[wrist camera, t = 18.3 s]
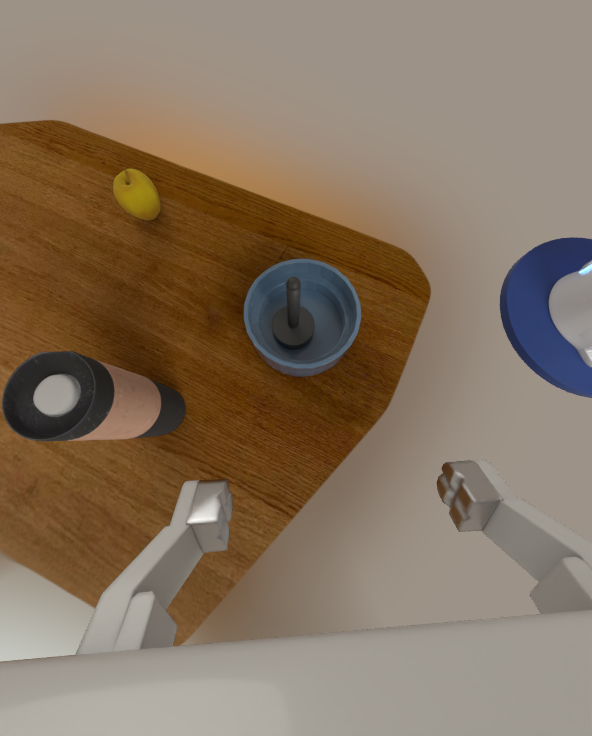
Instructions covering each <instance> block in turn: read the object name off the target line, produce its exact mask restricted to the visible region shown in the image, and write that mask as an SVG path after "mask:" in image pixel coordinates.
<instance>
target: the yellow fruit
mask: <svg viewBox="0 0 592 736" xmlns="http://www.w3.org/2000/svg"><path fill="white" fill-rule="evenodd" d="M113 191H114V196H115V198H116V200H117V202H118V203H119V204H120V206H121V207H122V208H123V209H124V210H125V211H126V212H128V213H129V214H131V215H132V216H134V217H137V218H139V219H142V220H146V221H150V220H153V219H155V218H156V217H157V216H158V214H159V212H160V210H161V204H160V197H159V194H158V191H157V189H156V188H155V186H154V184H153V183H152V181H151V180H150V179H149V178H148V177H147V176H146V175H145V174H144V173H142V172H140V171H138V170H135V169H126V167H125V166H124V171H123V172H121V173H120V174H118V175H117V176H116V177H115V179H114V182H113Z"/></svg>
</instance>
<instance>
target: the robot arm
mask: <svg viewBox="0 0 592 736" xmlns="http://www.w3.org/2000/svg"><path fill="white" fill-rule="evenodd" d="M549 311H550V315H551V318H552V321H553V323H554V325H555V327H556V328H557V330H558V331H559V332H560V334H561V335H562V336H563V337H564V338H565V339H566V340H567V341H568V342H569V343H571V344H572V345H573V346H574V347H575V348H576V349H577V351H578V352H579V354H580V356H581V358H582V359H583V361H584V362H585V363H586V364H587V365H588V366H589V367H592V261H589V262H587V263H586V264H585V265H584V266H583V267H582V268H581V269H580V270H579V271H576V272H573V273H571V274H568V275H566V276H564V277H562V278H561V279H560V280H558V281H557V282H556V284H555V285H554V286H553V288H552V290H551V293H550V296H549ZM442 471H443V474H441V475H440V476H439V477H438V481H437V489H438V492H439V495H440V497H441V499H442V501H443V503H445V504H446V505H447V506H449V507H450V511H449V514H450V516H451V518H452V520H453V522H454V524H455V525H456V527H457V529H458V531H459V532H463V531H483V533H484V534H485V535H486V536H487V537H489V538H490V539H491V540H492V541H493V542H494V543H495V544H496V545H498V546H499V547H500V548H501V549H502V550H503V551H504V552H505V553H507V554H508V555H509V556H510V557H511V558H512V559H513V560H515V561H516V562H517V563H518V564H519V565H520V566H522V568H524V569H525V570H526V571H527V572H528V573H529V574H530V575H531V576H533V577H534V578H535V579H536V580H537V581H538V582H539V583H538V584H537V585H536V586H535V587H534V589H533V590H532V591H531V593H530V597H531V598H532V600H533V602H534V603H535V605H536V606H537V608H538V610H539V611H540V613H541V614H536V615H524V616H513V617H501V618H491V619H479V620H467V621H456V622H445V623H434V624H423V625H410V626H399V627H388V628H377V629H366V630H354V631H342V632H331V633H320V634H308V635H298V636H285V637H274V638H263V639H251V640H240V641H229V642H218V643H207V644H195V645H183V646H173V644H174V639H175V635H176V630H177V625H176V623H175V621H174V620H173V618H172V617H171V616H170V614H169V613H168V612H167V611H166V609H167V608H168V606H169V605H170V603H171V602H172V600H173V599H174V597H175V596H176V594H177V593H178V591H179V590H180V588H181V587H182V585H183V584H184V582H185V581H186V579H187V578H188V576H189V575H190V573H191V572H192V570H193V569H194V567H195V566H196V564H197V563H198V561H199V560H200V558H201V557H202V555H203V553H205V552H214V551H223V550H227V547H228V540H229V533H230V529H229V526H228V522H229V521H230V520H231V518H232V511H233V498H232V493H231V491H229V490H228V489H229V482H228V479H216V480H196V481H185V483H184V484H183V486H182V489H181V492H180V495H179V498H178V501H177V505H176V508H175V511H174V514H173V517H172V520H171V523H170V526H166V527H164V528H163V530H162V531H161V532H160V533H159V534H158V535H157V536H156V537H155V538H154V539H153V540H152V541H151V542H150V543H149V544H148V545H147V547H146V548H145V549H144V550H143V551H142V552H141V553H140V554H139V555H138V556H137V557H136V558H135V559H134V560H133V561H132V563H131V564H130V565H129V566H128V567H127V568H126V569H125V570H124V571H123V572H122V573H121V574H120V575H119V576H118V577H117V578H116V580H115V581H114V582H113V583H112V584H111V585H110V586H109V587H108V588H107V589H106V590H105V591H104V592H103V593H102V595H101V597H100V600H99V602H98V604H97V606H96V609H95V611H94V614H93V616H92V618H91V620H90V623H89V625H88V627H87V629H86V632H85V634H84V636H83V639H82V641H81V643H80V645H79V648H78V650H77V652H76V654H75V655H69V656H59V657H47V658H36V659H24V660H13V661H2V662H0V736H592V542H591V541H590V540H588V539H587V538H585V537H584V536H582V535H580V534H579V533H577V532H575V531H574V530H572V529H571V528H569V527H567V526H566V525H564V524H563V523H561V522H559V521H558V520H556V519H555V518H553V517H551V516H550V515H548V514H546V513H545V512H543V511H542V510H540V509H539V508H537V507H535V506H534V505H532V504H530V503H529V502H527V501H526V500H524V499H519V498H518V497H517V496H516V495H515V493H514V492H513V491H512V489H511V488H510V487H509V486H508V484H507V483H506V482H505V481H504V479H503V478H502V477H501V476H500V474H499V473H498V472H497V470H496V469H495V468H494V467H493V465H492V464H491V463H490V462H489V461H487V460H475V461H470V460H469V461H458V462H447V463H445V464H443V466H442Z"/></svg>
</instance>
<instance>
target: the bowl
mask: <svg viewBox="0 0 592 736" xmlns="http://www.w3.org/2000/svg"><path fill="white" fill-rule="evenodd" d="M290 277H297V278H298V279H299V280H300V282H301V292H300V306H301V307H303V308H305V309H307V310H308V311H309V312H310V313H311V315H312V316H313V319H314V322H315V328H314V333H313V337H312V339H311V341H310V342H309V343H308V344H307V345H306V346H305V347H303V348H300V349H296V350H290V349H286V348H284V347H282V346H281V345H279V344H278V343H277V341H276V340H275V338H274V335H273V330H272V321H273V318H274V316H275V314H276V313H277V312H278V311H279V310H280V309H281V308H283V307H285V306H287V292H286V282H287V280H288V279H289V278H290ZM360 321H361V307H360V302H359V299H358V296H357V293H356V290H355V289H354V287H353V286H352V284H351V283H350V282H349V280H348V279H347V278H346V277H345V276H344V275H343V274H342V273H340V272H339V271H338V270H337V269H336V268H334V267H332V266H330V265H328V264H325V263H323V262H320V261H316V260H311V259H292V260H288V261H284V262H280V263H278V264H276V265H274V266H272V267H270V268H268V269H267V270H266V271H264V272H263V273H262V274H261V275H260V276H259V277H258V278H257V279H256V280H255V281H254V283H253V284H252V286H251V288H250V289H249V291H248V294H247V297H246V300H245V303H244V322H245V326H246V330H247V333H248V336H249V338H250V340H251V342H252V344H253V346H254V348H255V350H256V351H257V353H258V355H259V356H260V358H261V359H262V360H264V361H265V362H266V363H267V364H268V365H269V366H270V367H272V368H274V369H275V370H277V371H279V372H281V373H284V374H288V375H292V376H312V375H315V374H319V373H322V372H324V371H326V370H328V369H329V368H331V367H333V366H334V365H336V363H337V362H338V361H339V360H340V359H341V358H342V357H343V356H344V355H345V353H346V352H347V350H348V349H349V347H350V346H351V344H352V343H353V341H354V339H355V337H356V335H357V333H358V331H359V326H360Z"/></svg>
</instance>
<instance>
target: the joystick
mask: <svg viewBox="0 0 592 736" xmlns="http://www.w3.org/2000/svg"><path fill="white" fill-rule="evenodd" d="M286 292H287V306H285V307H283V308H281V309H280V310H279V311H278V312H277V313H276V314H275V316H274V318H273V321H272V330H273V335H274V338H275V340H276V341H277V343H278V344H279V345H281V346H282V347H284V348H286V349H290V350H296V349H300V348H303V347H305V346H306V345H307V344H308V343H309V342H310V341H311V339H312V337H313V333H314V328H315V322H314V319H313V316H312V315H311V313H310V312H309V311H308V310H307V309H305V308H303V307H301V306H300V292H301V282H300V280H299V279H298V278H297V277H290V278H289V279H288V280H287V282H286Z"/></svg>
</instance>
